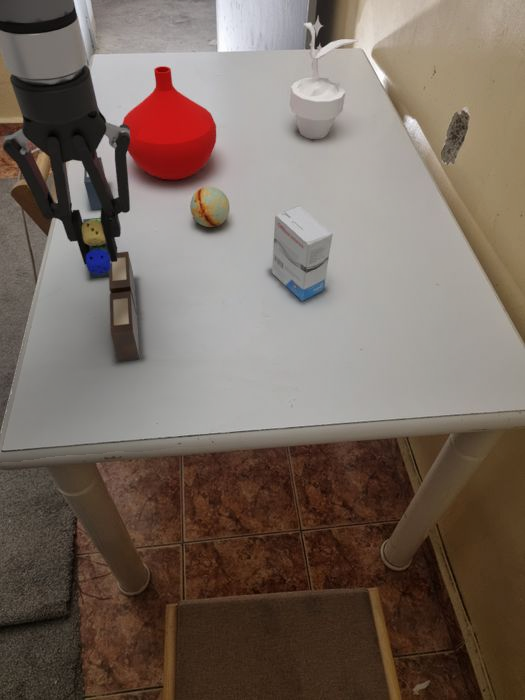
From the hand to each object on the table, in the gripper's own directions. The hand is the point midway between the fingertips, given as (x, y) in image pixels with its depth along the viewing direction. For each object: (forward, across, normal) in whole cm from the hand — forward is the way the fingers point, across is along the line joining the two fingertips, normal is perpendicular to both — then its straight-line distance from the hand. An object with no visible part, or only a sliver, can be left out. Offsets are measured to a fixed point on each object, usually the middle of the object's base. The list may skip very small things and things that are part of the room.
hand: (101, 256), depth 68 cm
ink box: (+14, -29, -6) cm, 33 cm away
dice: (+1, 0, 0) cm, 1 cm away
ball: (+14, -17, -23) cm, 32 cm away
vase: (+14, -11, -43) cm, 47 cm away
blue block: (+14, +3, -25) cm, 29 cm away
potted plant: (+14, -44, -53) cm, 70 cm away
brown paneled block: (+14, -1, -1) cm, 14 cm away
